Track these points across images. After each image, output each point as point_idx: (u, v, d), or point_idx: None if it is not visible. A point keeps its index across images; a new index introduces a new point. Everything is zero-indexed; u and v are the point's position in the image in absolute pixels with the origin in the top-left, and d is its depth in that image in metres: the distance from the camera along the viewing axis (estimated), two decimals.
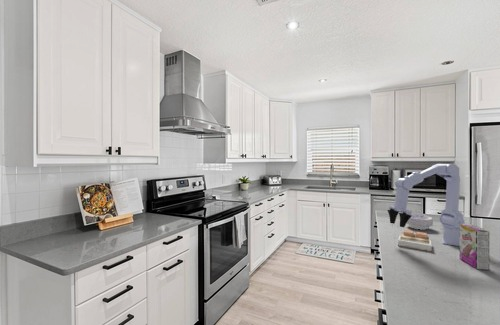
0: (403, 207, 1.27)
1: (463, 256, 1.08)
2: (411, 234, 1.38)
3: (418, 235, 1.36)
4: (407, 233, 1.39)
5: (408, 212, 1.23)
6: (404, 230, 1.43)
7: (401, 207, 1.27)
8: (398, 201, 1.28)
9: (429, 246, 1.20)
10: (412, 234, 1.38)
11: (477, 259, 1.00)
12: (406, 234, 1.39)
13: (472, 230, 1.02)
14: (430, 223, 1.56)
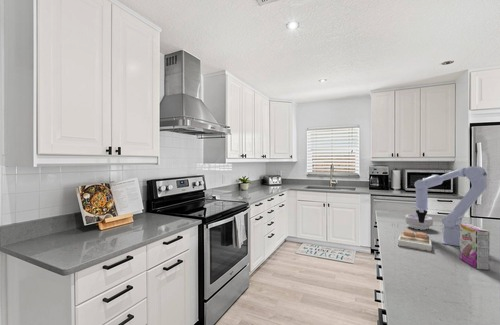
0: (421, 206, 1.42)
1: (463, 256, 1.08)
2: (411, 234, 1.38)
3: (418, 235, 1.36)
4: (407, 233, 1.39)
5: (420, 210, 1.39)
6: (404, 230, 1.43)
7: (419, 206, 1.43)
8: (416, 201, 1.44)
9: (429, 246, 1.20)
10: (412, 234, 1.38)
11: (477, 259, 1.00)
12: (406, 234, 1.39)
13: (472, 230, 1.02)
14: (430, 223, 1.56)
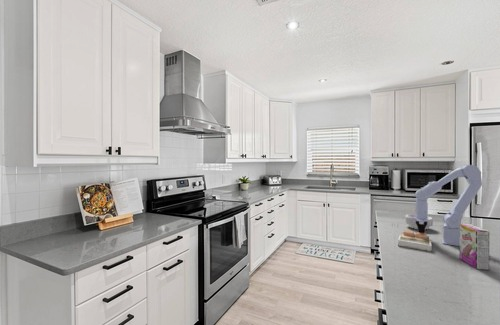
0: (421, 217, 1.37)
1: (463, 256, 1.08)
2: (411, 234, 1.38)
3: (418, 235, 1.35)
4: (407, 233, 1.39)
5: (420, 222, 1.34)
6: (404, 230, 1.43)
7: (419, 217, 1.38)
8: (416, 212, 1.40)
9: (429, 246, 1.20)
10: (412, 234, 1.38)
11: (477, 259, 1.00)
12: (406, 234, 1.39)
13: (472, 230, 1.02)
14: (430, 223, 1.56)
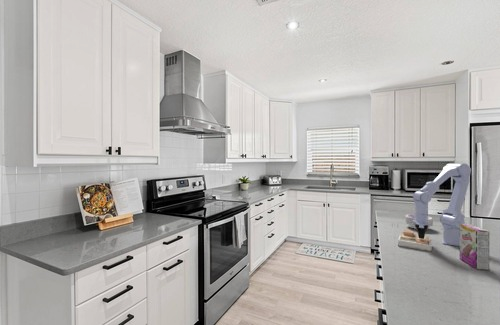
0: (421, 220, 1.29)
1: (463, 256, 1.08)
2: (411, 234, 1.38)
3: (418, 242, 1.28)
4: (407, 233, 1.39)
5: (420, 225, 1.26)
6: (404, 230, 1.43)
7: (418, 220, 1.30)
8: (416, 214, 1.32)
9: (429, 246, 1.20)
10: (412, 234, 1.38)
11: (477, 259, 1.00)
12: (406, 234, 1.39)
13: (472, 230, 1.02)
14: (430, 223, 1.56)
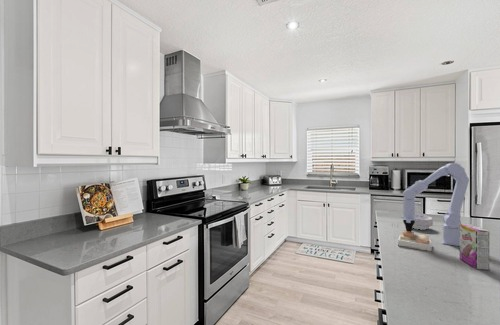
0: (408, 216, 1.40)
1: (463, 256, 1.08)
2: (411, 235, 1.36)
3: (418, 242, 1.28)
4: (407, 234, 1.38)
5: (407, 220, 1.37)
6: (404, 231, 1.41)
7: (406, 216, 1.41)
8: (404, 211, 1.42)
9: (429, 246, 1.20)
10: (412, 235, 1.36)
11: (477, 259, 1.00)
12: (406, 235, 1.38)
13: (472, 230, 1.02)
14: (430, 223, 1.56)
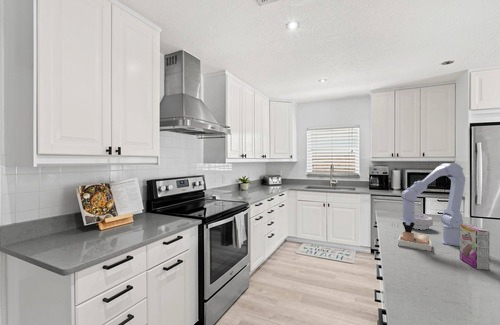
0: (407, 218, 1.35)
1: (463, 256, 1.08)
2: (411, 241, 1.32)
3: (418, 242, 1.28)
4: (406, 240, 1.33)
5: (406, 223, 1.31)
6: (403, 233, 1.36)
7: (405, 218, 1.35)
8: (403, 212, 1.37)
9: (429, 246, 1.20)
10: (412, 241, 1.31)
11: (477, 259, 1.00)
12: (405, 240, 1.33)
13: (472, 230, 1.02)
14: (430, 223, 1.56)
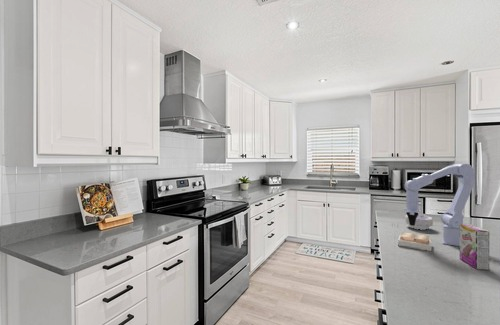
0: (411, 208, 1.35)
1: (463, 256, 1.08)
2: (411, 241, 1.30)
3: (418, 242, 1.28)
4: (406, 240, 1.31)
5: (410, 212, 1.31)
6: (403, 237, 1.35)
7: (409, 208, 1.36)
8: (407, 202, 1.37)
9: (429, 246, 1.20)
10: (412, 241, 1.29)
11: (477, 259, 1.00)
12: None
13: (472, 230, 1.02)
14: (430, 223, 1.56)
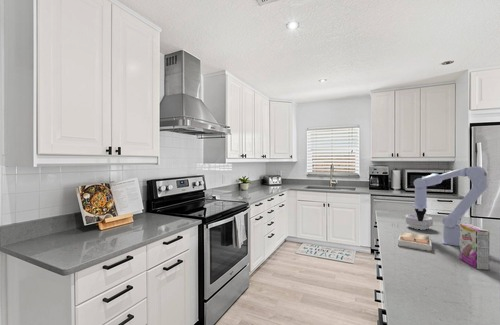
0: (420, 204, 1.41)
1: (463, 256, 1.08)
2: (411, 241, 1.30)
3: (418, 242, 1.28)
4: (406, 240, 1.31)
5: (419, 208, 1.38)
6: (403, 237, 1.35)
7: (418, 204, 1.42)
8: (415, 199, 1.44)
9: (429, 246, 1.20)
10: (412, 241, 1.29)
11: (477, 259, 1.00)
12: None
13: (472, 230, 1.02)
14: (430, 223, 1.56)
